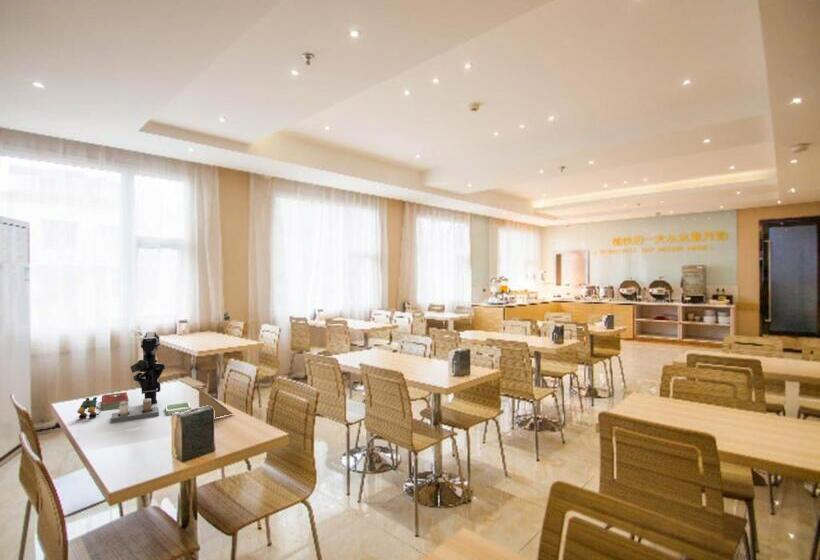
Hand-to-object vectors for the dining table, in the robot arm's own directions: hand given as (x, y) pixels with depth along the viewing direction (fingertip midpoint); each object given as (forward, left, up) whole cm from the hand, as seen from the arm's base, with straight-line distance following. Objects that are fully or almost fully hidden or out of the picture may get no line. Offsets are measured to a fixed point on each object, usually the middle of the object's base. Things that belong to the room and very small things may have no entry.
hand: (148, 387), depth 218 cm
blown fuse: (0, -1, -14) cm, 14 cm away
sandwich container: (+20, +30, -15) cm, 39 cm away
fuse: (0, -11, -14) cm, 18 cm away
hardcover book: (-34, -16, -15) cm, 41 cm away
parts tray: (0, +13, -14) cm, 20 cm away
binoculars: (-11, -26, -15) cm, 32 cm away
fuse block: (0, -6, -14) cm, 15 cm away
